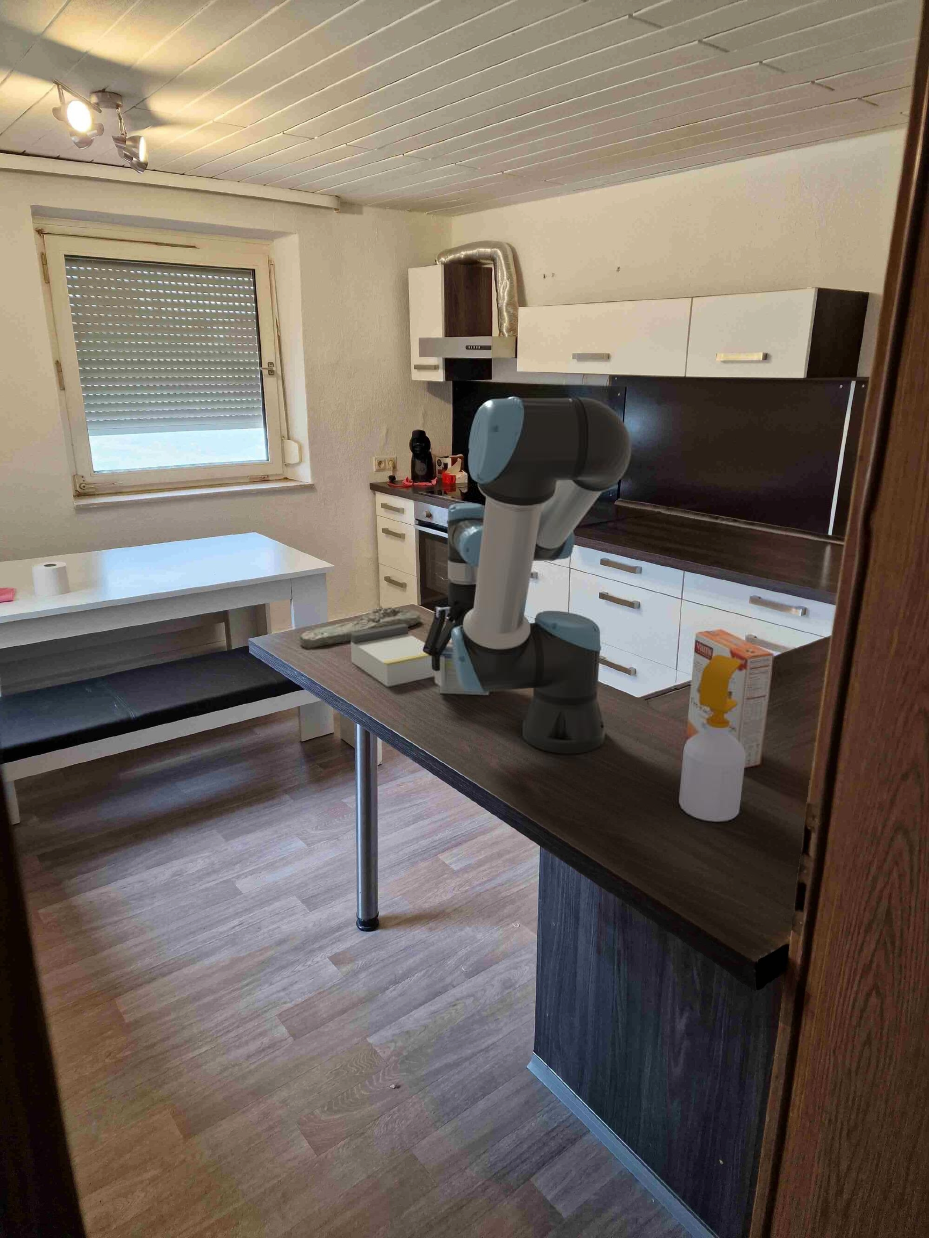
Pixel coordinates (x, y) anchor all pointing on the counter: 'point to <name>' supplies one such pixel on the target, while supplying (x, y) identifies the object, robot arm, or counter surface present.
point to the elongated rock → (358, 626)
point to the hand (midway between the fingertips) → (465, 678)
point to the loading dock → (391, 655)
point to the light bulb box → (453, 675)
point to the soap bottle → (713, 752)
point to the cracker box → (734, 690)
